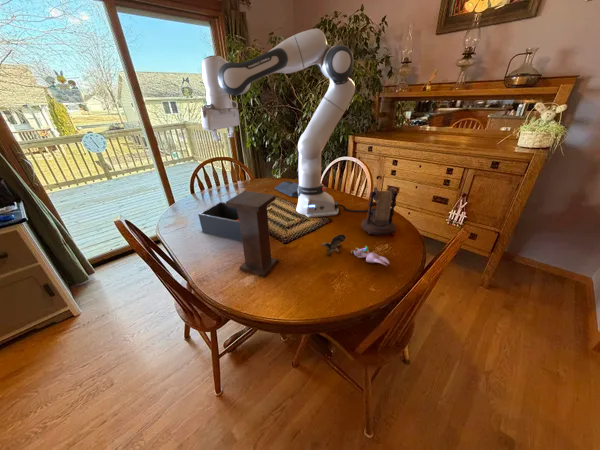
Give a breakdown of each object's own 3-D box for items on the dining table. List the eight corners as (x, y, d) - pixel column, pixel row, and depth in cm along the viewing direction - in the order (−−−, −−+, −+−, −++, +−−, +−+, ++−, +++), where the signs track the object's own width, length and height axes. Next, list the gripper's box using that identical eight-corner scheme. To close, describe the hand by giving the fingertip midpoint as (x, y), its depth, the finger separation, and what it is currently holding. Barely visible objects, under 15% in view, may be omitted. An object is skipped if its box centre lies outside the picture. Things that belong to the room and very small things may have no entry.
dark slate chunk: (290, 183, 164) (290, 177, 162) (312, 192, 150) (312, 184, 147) (272, 188, 155) (272, 181, 153) (293, 198, 141) (293, 190, 138)
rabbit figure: (348, 258, 90) (382, 272, 79) (347, 244, 88) (383, 257, 77) (358, 252, 94) (393, 265, 82) (358, 238, 92) (393, 250, 80)
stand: (237, 270, 83) (225, 201, 70) (253, 254, 91) (245, 190, 78) (265, 278, 79) (258, 207, 66) (279, 261, 87) (275, 195, 75)
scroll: (364, 238, 101) (370, 193, 91) (358, 221, 114) (363, 181, 104) (399, 238, 100) (409, 194, 90) (389, 222, 113) (397, 181, 103)
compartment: (202, 231, 107) (198, 214, 102) (223, 218, 118) (220, 201, 114) (244, 242, 99) (241, 223, 95) (262, 226, 111) (260, 208, 106)
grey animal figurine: (343, 257, 87) (349, 241, 93) (333, 242, 85) (340, 227, 91) (326, 260, 92) (334, 245, 98) (316, 247, 90) (325, 232, 96)
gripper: (207, 104, 88) (214, 143, 95) (239, 103, 104) (243, 136, 111) (194, 104, 90) (201, 142, 97) (228, 103, 107) (232, 135, 113)
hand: (224, 139), depth 104 cm, fingers open, 8 cm apart
